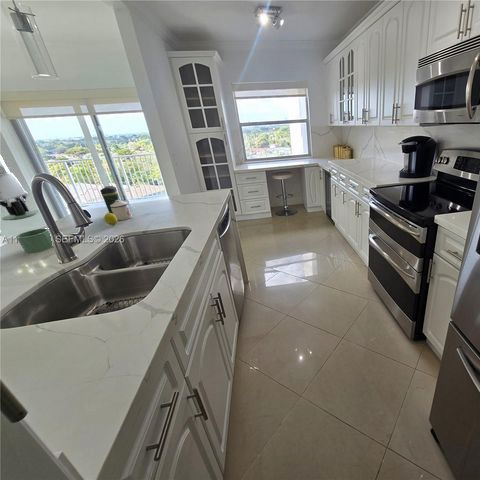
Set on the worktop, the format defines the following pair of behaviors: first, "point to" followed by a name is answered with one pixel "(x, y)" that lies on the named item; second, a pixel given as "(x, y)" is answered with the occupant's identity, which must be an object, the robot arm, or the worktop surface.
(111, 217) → the lemon
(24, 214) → the lid
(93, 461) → the worktop surface
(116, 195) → the coffee jar
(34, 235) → the green round open container
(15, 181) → the robot arm
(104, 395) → the worktop surface
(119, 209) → the teacup with lid
